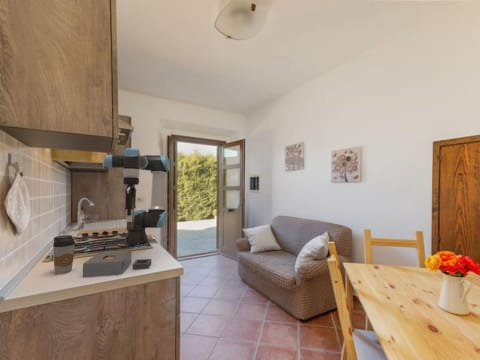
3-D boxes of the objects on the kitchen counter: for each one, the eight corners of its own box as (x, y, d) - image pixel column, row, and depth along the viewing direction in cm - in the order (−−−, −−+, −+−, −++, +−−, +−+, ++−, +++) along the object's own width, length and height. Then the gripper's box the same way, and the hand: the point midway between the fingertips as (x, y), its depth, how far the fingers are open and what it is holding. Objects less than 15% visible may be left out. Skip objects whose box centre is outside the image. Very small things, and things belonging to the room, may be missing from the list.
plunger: (106, 263, 109) (106, 257, 109) (115, 262, 110) (115, 256, 110) (102, 265, 105) (103, 259, 105) (112, 265, 106) (112, 259, 106)
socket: (136, 264, 114) (136, 259, 114) (151, 263, 116) (151, 258, 116) (132, 269, 107) (132, 264, 107) (148, 268, 109) (148, 263, 109)
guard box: (97, 264, 113) (98, 253, 114) (131, 262, 117) (131, 251, 117) (82, 277, 98) (82, 263, 98) (121, 274, 101) (121, 261, 101)
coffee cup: (54, 276, 98) (55, 243, 99) (49, 272, 103) (50, 240, 104) (76, 271, 105) (77, 239, 105) (71, 267, 110) (72, 237, 110)
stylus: (127, 229, 118) (128, 197, 118) (134, 229, 118) (134, 197, 119) (125, 230, 115) (126, 197, 115) (132, 230, 115) (133, 197, 116)
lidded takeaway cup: (67, 254, 130) (68, 234, 130) (75, 256, 126) (76, 235, 127) (49, 259, 122) (50, 237, 122) (56, 261, 118) (57, 239, 119)
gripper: (127, 177, 125) (126, 219, 124) (119, 176, 109) (117, 223, 108) (142, 178, 126) (140, 219, 125) (135, 176, 111) (134, 223, 110)
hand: (130, 221), depth 117 cm, fingers closed on stylus, 3 cm apart
